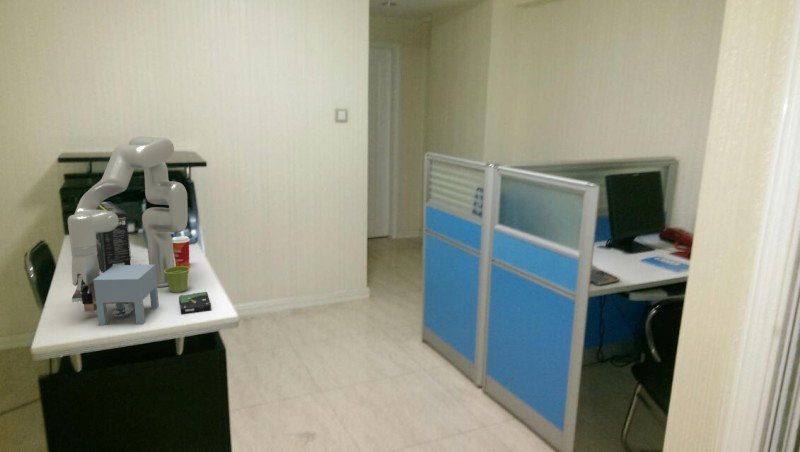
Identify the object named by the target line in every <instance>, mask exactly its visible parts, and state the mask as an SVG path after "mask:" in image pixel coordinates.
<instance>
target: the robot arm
mask: <svg viewBox="0 0 800 452" xmlns="http://www.w3.org/2000/svg"><path fill="white" fill-rule="evenodd" d="M128 141H129V142H128V144H121V145H118V146H116V147H115V148H114V149H113V151H112V153H111V155H110V159H109V161H108V163H107V165H106V168H105V170H104V172H103V175H102V176H101V177H102V178H101V179H100V180H99V181H98V182H96V183H95V184H94V185H93V186H91V188H89V189H88V191H85V193H84V194H83V196H81V198H80V200H79V202H78V204H77V206H76V209H75V212H74V214H71V215H69V216H68V218H67V225H68V226H67V227H68V233H69V234H68V235H69V243H70V251H71V277H72V278H71V280H72V285H73V286H74V287H75V286H77V287H76V289H77V290H79V291H80V293H81V296H82V301H81V302H82V305H84V304H92V303H93V298H92V293H90V292H91V291H90V284H91V283H92V282H94V279H95V278H97V277H98V276H100V275H101V270H100V269H99V262H98V257H97V254H98V251H97V243H96V233H102V232H109V231H112V230H114V229H115V228H116V227H117V225H118V222H119V220H118V217H117V215H116V214H115V213H113V212H111V211H107V210H96V208H97V207H98V205H99V204H100V203H101V202H105V200H106V199H109V198H110V197H113V196H115V195H118V194H121V193H123V192H125V191H126V190H127V188H128V187H129V184H130V182H131V180H132V179H131V178H132V177H133V173H134V171H135V169H141V170H143V171H144V188H145V189H144V193H145V198H146V200H147V202H149V203H150V204H154V205H165V206H168V207H159V206H158V207H157V206H155V207H154V206H153V207H149V208H147V209H146V210H144V211H143V213H142V215H141V221H142V227H143V230H144V233H145V238H146V245H147V257H148V265H155V269H156V280H157V288H163V287H164V288H165V287H169V283H168V279H167V276H166V273H164V270H166V269H168V268H171V267H176V265H175V259H174V252H173V241H172V238H173V237H172V235H171V233H181V232H184V231H185V229H186V228H187V227H188V226H187V225H188V220H189V219H188V213H189V212H188V192H187V190H186V187H185V186H184V184H183V183H181V182H178V181H172V180H171V181H170V180H169V169H168V166H167V164H166V162H167V161H168V160H170V159H171V158H172V156H173V155H174V152H175V146H174V144H173V142H172V141H171V140H170V139H168V138H165V137H155V136H154V137H152V136H136V137H132V138H131V139H130V140H128ZM83 283H85V284H83ZM83 286H87V288H86V287H83Z"/></svg>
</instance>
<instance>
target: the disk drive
mask: <svg viewBox="0 0 800 452" xmlns="http://www.w3.org/2000/svg"><path fill="white" fill-rule="evenodd" d="M209 297H210V296H209V294H208V292H207V291H202V292H194V293H190V294H189V293H188V294H181V295H179V296H178V303H179V308H180V315H187V314H188V315H189V314H195V313H201V312H210V311H212V304H211V300H210V299H209Z"/></svg>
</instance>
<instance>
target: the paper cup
mask: <svg viewBox="0 0 800 452" xmlns="http://www.w3.org/2000/svg"><path fill="white" fill-rule="evenodd" d="M172 241H173V253H174V265H175V267H177V266H185V267H189V268H190V241H191V240H190V237H188V236H186V235H180V236H175V237H172Z"/></svg>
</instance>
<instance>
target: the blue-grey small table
mask: <svg viewBox="0 0 800 452" xmlns="http://www.w3.org/2000/svg"><path fill="white" fill-rule="evenodd" d="M94 288H95V297H96V305H97V310H96V313H97V319H98V326H107V324H108V313H107V304H106V303H112V302H134V304H135V308H134V313H135V323H136V325H144V323H145V322H146V321H145V320H146V319H145V309H144V299H146V297H148V295H149V298H150V308H151V309H154V310H155V309H158V308H159V307H160V303H159V292H158V287H157V280H156V269H155V265H149V264H131V265H114V266H112V267H111V268H110V269H108V270H107V271H105V272H104V273H103V272H102V273H100V276H98V277H97V278H95V279H94ZM115 308H116V309H115V310H119V309H125V304H115ZM151 309H150V310H151Z"/></svg>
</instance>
